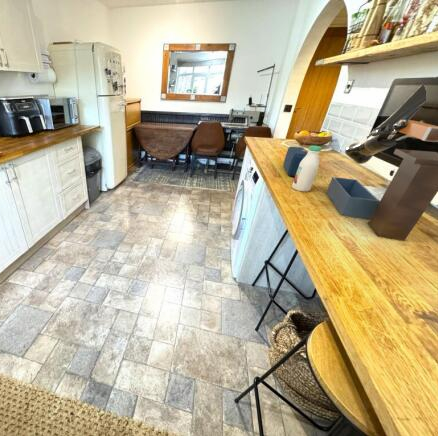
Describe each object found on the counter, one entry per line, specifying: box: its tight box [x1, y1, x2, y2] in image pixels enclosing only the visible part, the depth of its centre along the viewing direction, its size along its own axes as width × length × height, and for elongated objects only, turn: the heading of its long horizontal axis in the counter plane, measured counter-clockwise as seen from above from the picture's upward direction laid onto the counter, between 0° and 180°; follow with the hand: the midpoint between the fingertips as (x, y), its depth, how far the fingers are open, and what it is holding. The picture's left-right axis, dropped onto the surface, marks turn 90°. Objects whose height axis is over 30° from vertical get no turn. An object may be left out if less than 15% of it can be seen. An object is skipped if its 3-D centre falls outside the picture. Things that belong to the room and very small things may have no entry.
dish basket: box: [325, 176, 380, 220], centre depth 98 cm, size 9×23×8 cm, turn 159°
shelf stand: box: [367, 148, 438, 242], centre depth 77 cm, size 10×12×26 cm
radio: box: [282, 137, 308, 178], centre depth 130 cm, size 21×9×20 cm, turn 162°
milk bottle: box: [291, 145, 322, 193], centre depth 109 cm, size 8×8×20 cm
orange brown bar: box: [398, 119, 438, 143], centre depth 76 cm, size 18×4×4 cm, turn 159°
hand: (414, 123), depth 78 cm, fingers closed on orange brown bar, 3 cm apart
